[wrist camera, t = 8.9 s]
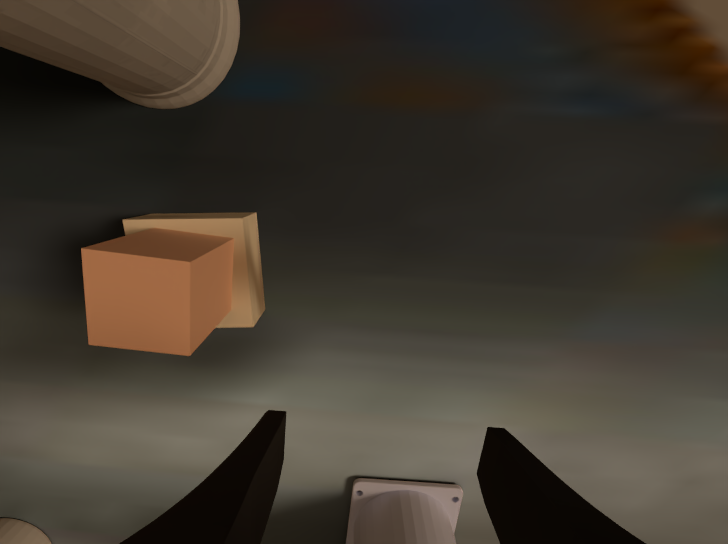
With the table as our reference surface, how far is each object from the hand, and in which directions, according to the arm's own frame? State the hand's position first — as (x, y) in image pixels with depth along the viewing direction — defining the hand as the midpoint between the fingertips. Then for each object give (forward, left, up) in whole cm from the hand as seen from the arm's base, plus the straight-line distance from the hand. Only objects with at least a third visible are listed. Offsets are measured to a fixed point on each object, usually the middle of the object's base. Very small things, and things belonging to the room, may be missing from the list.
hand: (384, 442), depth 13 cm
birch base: (+3, +10, -11) cm, 15 cm away
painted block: (+3, +10, -8) cm, 13 cm away
